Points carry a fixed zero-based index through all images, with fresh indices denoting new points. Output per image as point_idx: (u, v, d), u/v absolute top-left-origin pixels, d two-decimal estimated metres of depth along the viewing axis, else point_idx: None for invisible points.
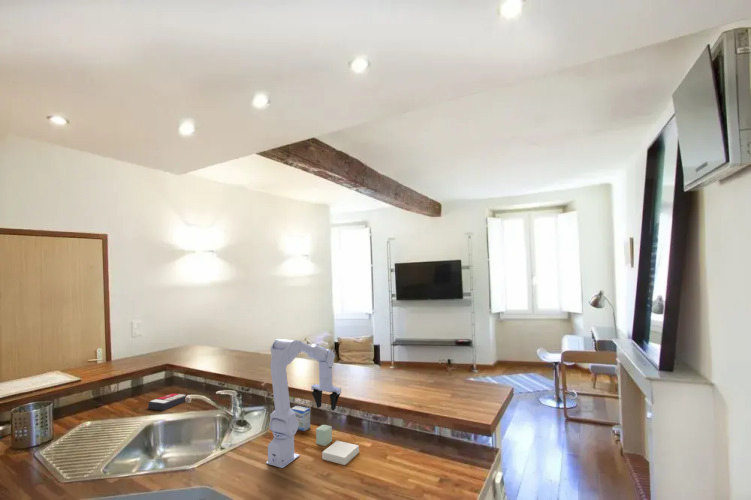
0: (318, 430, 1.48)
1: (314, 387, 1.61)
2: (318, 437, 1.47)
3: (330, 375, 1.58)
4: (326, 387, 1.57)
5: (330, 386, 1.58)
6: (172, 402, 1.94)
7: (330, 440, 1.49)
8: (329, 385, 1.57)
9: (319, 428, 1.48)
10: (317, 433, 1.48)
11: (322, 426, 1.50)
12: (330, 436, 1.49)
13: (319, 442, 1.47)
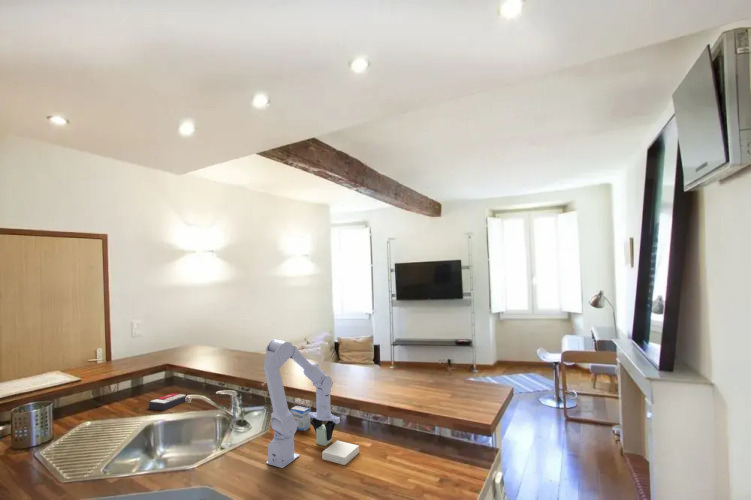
0: (318, 430, 1.48)
1: (311, 415, 1.50)
2: (318, 436, 1.47)
3: (326, 404, 1.47)
4: (324, 416, 1.47)
5: (328, 415, 1.48)
6: (172, 402, 1.94)
7: (330, 440, 1.49)
8: (327, 414, 1.47)
9: (319, 428, 1.48)
10: (317, 433, 1.48)
11: (322, 426, 1.50)
12: None
13: (319, 442, 1.47)
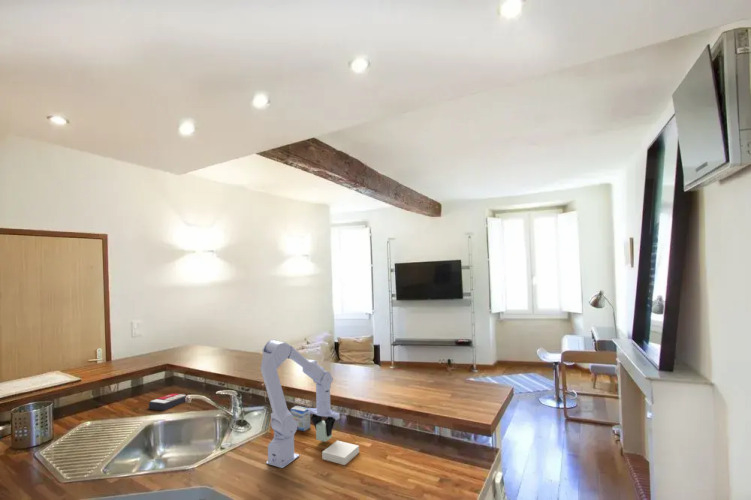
0: (318, 426, 1.48)
1: (311, 411, 1.51)
2: (318, 432, 1.48)
3: (326, 400, 1.47)
4: (324, 412, 1.47)
5: (328, 411, 1.48)
6: (172, 402, 1.94)
7: (330, 436, 1.49)
8: (327, 410, 1.47)
9: (319, 424, 1.48)
10: (317, 429, 1.48)
11: (322, 422, 1.50)
12: None
13: (319, 438, 1.47)
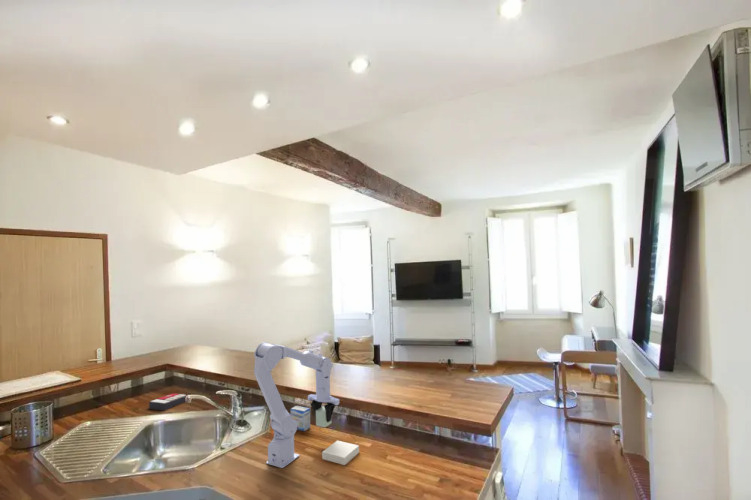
0: (318, 412, 1.48)
1: (311, 397, 1.51)
2: (317, 418, 1.48)
3: (326, 385, 1.48)
4: (323, 398, 1.47)
5: (328, 397, 1.48)
6: (173, 402, 1.94)
7: (330, 422, 1.49)
8: (327, 396, 1.48)
9: (319, 410, 1.49)
10: (316, 415, 1.48)
11: (322, 408, 1.51)
12: None
13: (319, 423, 1.47)
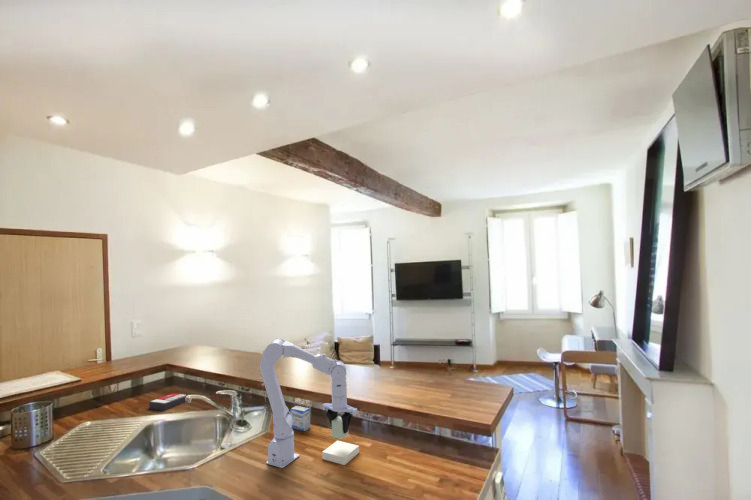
0: (334, 422, 1.37)
1: (326, 407, 1.40)
2: (334, 429, 1.37)
3: (338, 395, 1.36)
4: (340, 407, 1.36)
5: (344, 406, 1.37)
6: (173, 402, 1.94)
7: (346, 433, 1.39)
8: (343, 405, 1.37)
9: (335, 420, 1.38)
10: (332, 425, 1.38)
11: (338, 418, 1.40)
12: None
13: (335, 435, 1.37)
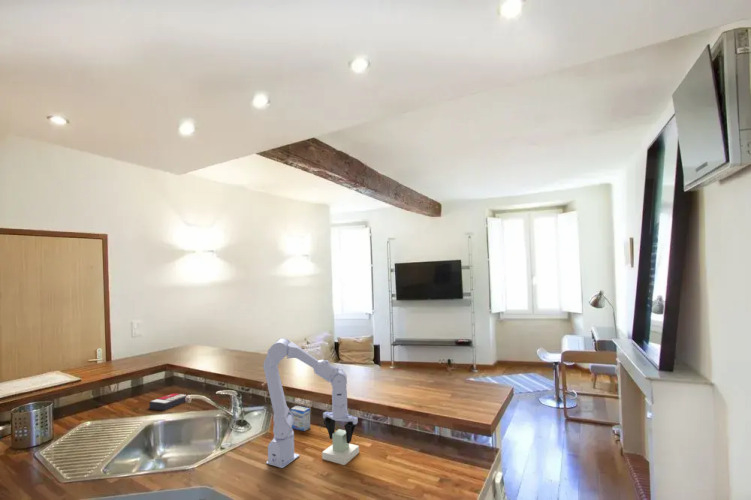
0: (334, 435, 1.37)
1: (326, 415, 1.40)
2: (334, 442, 1.37)
3: (338, 403, 1.36)
4: (340, 416, 1.36)
5: (345, 415, 1.37)
6: (173, 402, 1.94)
7: (347, 446, 1.38)
8: (344, 414, 1.37)
9: (335, 433, 1.38)
10: (333, 439, 1.37)
11: (338, 431, 1.40)
12: None
13: (336, 448, 1.36)
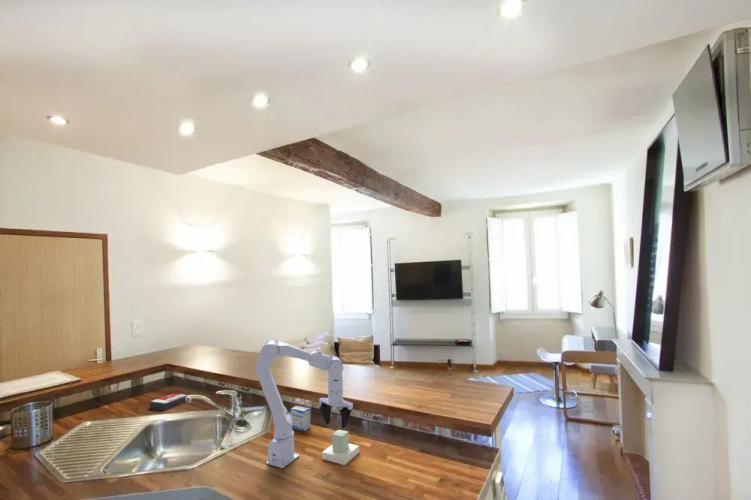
0: (334, 436, 1.36)
1: (322, 401, 1.42)
2: (334, 443, 1.36)
3: (335, 389, 1.39)
4: (336, 402, 1.38)
5: (340, 400, 1.39)
6: (173, 402, 1.94)
7: (347, 446, 1.38)
8: (339, 399, 1.39)
9: (335, 434, 1.37)
10: (333, 439, 1.37)
11: (338, 431, 1.39)
12: (347, 442, 1.38)
13: (336, 449, 1.36)
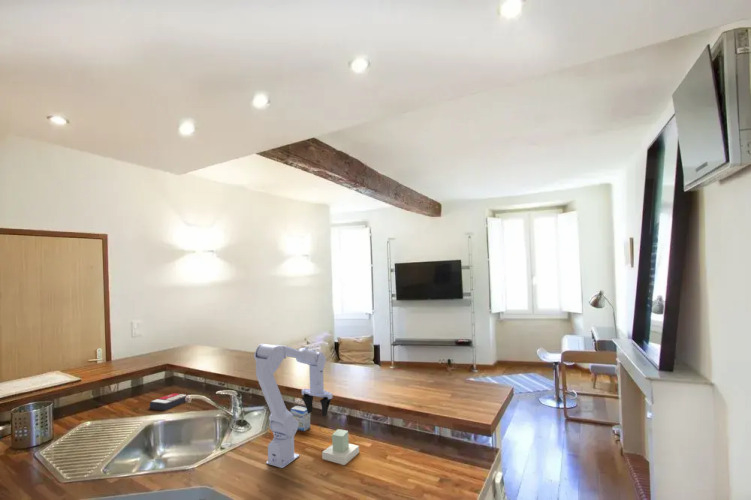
0: (334, 436, 1.36)
1: (304, 392, 1.54)
2: (334, 443, 1.36)
3: (321, 379, 1.51)
4: (317, 392, 1.50)
5: (321, 391, 1.51)
6: (173, 402, 1.94)
7: (347, 445, 1.38)
8: (320, 390, 1.50)
9: (335, 434, 1.37)
10: (333, 439, 1.37)
11: (338, 431, 1.39)
12: (347, 441, 1.38)
13: (336, 448, 1.36)
